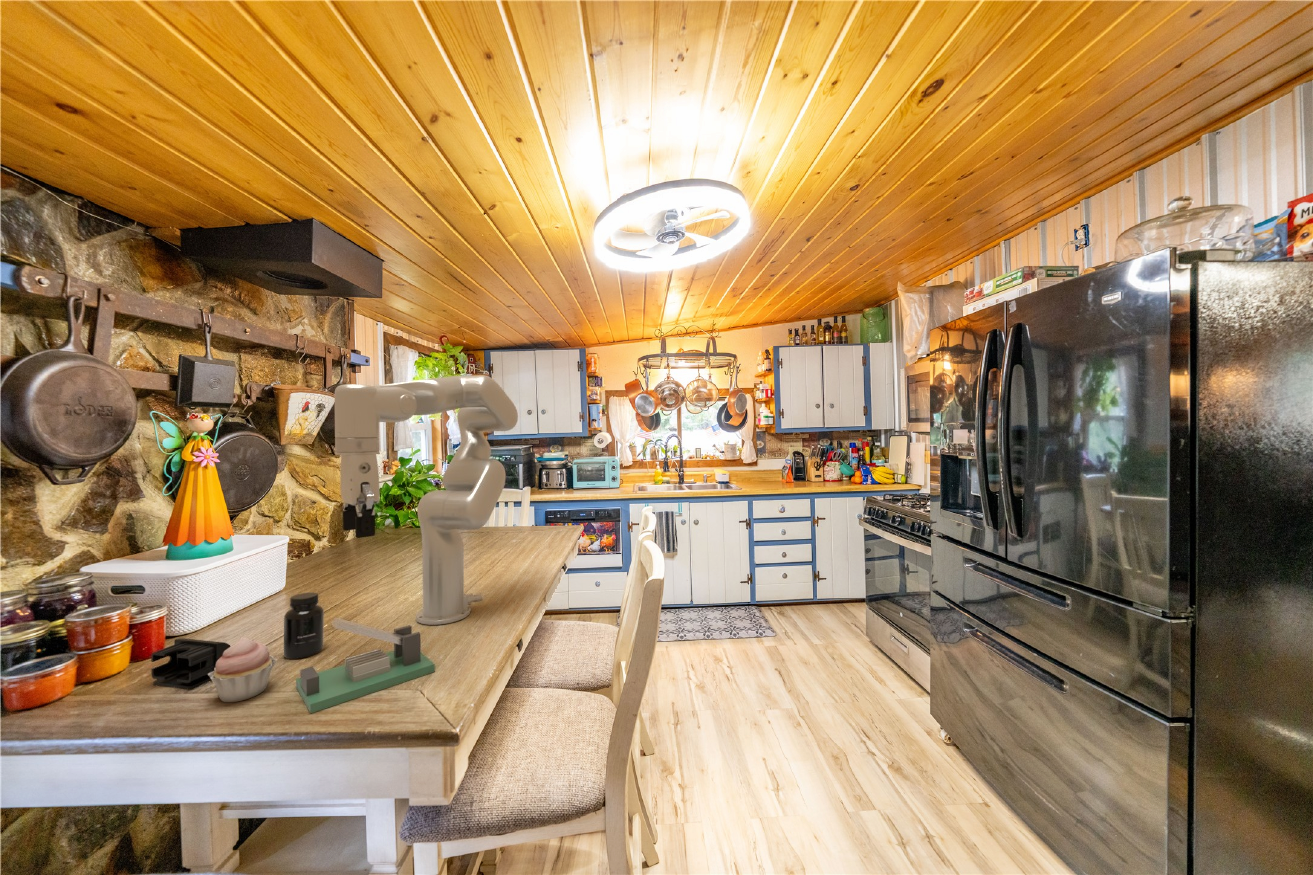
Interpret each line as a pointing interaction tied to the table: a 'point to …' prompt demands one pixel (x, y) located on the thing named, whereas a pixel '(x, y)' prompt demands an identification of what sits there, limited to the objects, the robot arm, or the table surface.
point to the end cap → (187, 663)
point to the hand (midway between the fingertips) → (358, 532)
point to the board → (365, 673)
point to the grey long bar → (367, 631)
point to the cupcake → (242, 671)
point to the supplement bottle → (303, 626)
